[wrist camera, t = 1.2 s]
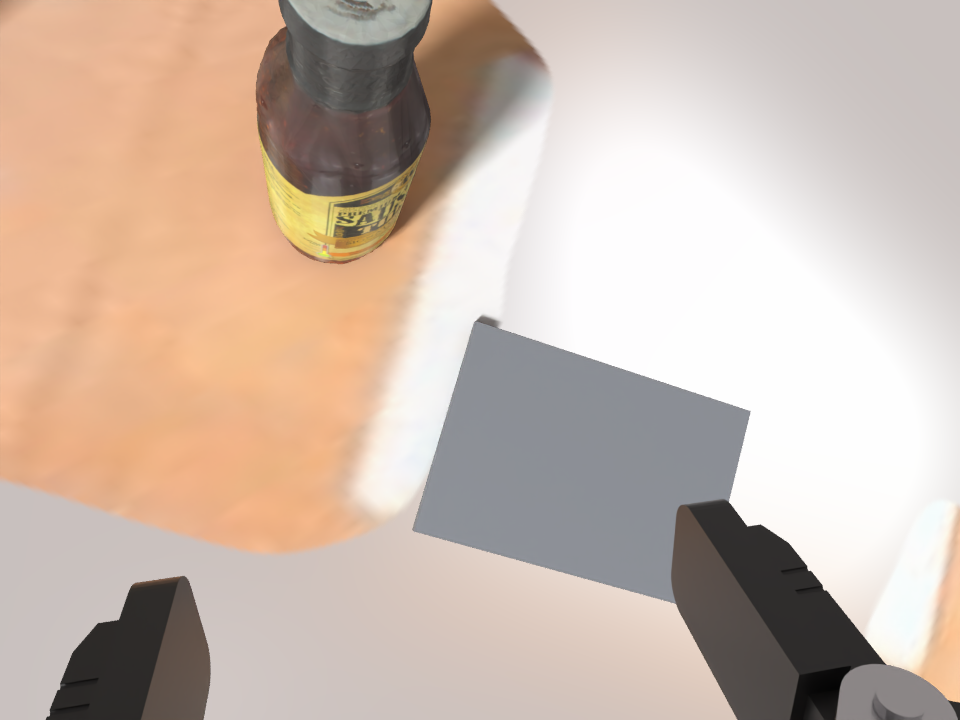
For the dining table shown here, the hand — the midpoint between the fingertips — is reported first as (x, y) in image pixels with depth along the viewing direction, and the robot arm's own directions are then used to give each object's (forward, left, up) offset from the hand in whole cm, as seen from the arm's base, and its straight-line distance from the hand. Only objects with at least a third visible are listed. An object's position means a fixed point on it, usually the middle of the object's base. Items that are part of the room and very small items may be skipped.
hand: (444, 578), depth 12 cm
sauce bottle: (+3, +13, -26) cm, 29 cm away
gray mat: (+11, -4, -26) cm, 28 cm away
